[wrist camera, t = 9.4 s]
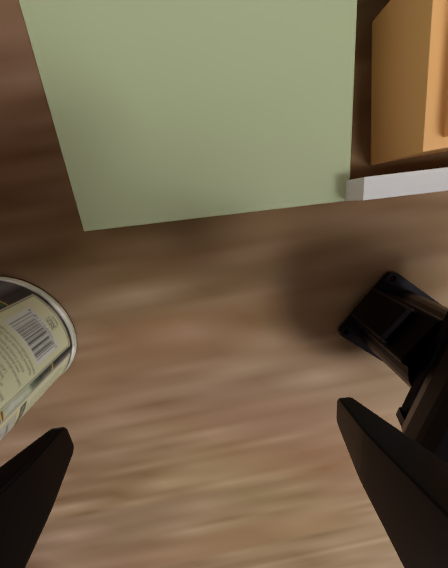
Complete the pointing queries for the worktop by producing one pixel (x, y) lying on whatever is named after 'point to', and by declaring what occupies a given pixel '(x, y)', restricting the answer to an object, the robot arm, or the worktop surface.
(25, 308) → the coffee can
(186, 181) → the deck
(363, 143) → the worktop surface
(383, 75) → the orange stepped block
